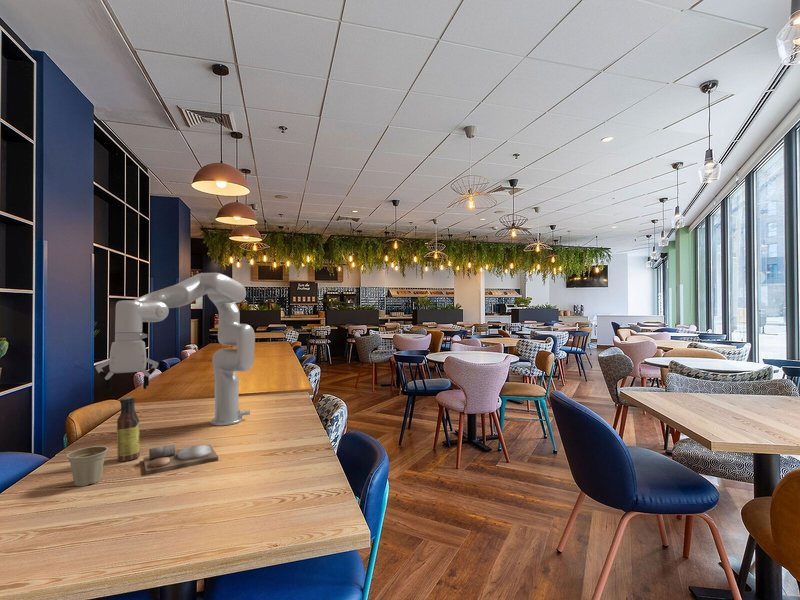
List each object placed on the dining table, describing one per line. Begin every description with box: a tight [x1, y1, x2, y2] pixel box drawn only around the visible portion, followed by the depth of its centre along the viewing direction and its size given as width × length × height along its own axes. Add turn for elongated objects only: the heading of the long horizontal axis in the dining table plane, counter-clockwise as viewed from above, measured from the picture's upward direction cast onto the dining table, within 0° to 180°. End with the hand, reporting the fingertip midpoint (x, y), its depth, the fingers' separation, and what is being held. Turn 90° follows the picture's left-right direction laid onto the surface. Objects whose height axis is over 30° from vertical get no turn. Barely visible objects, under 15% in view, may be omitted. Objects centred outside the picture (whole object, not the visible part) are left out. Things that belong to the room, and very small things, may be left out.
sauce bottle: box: [116, 396, 141, 462], centre depth 135 cm, size 7×6×20 cm
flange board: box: [143, 444, 219, 476], centre depth 133 cm, size 20×14×4 cm
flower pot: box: [66, 445, 109, 487], centre depth 117 cm, size 9×9×9 cm
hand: (127, 389), depth 135 cm, fingers open, 9 cm apart
